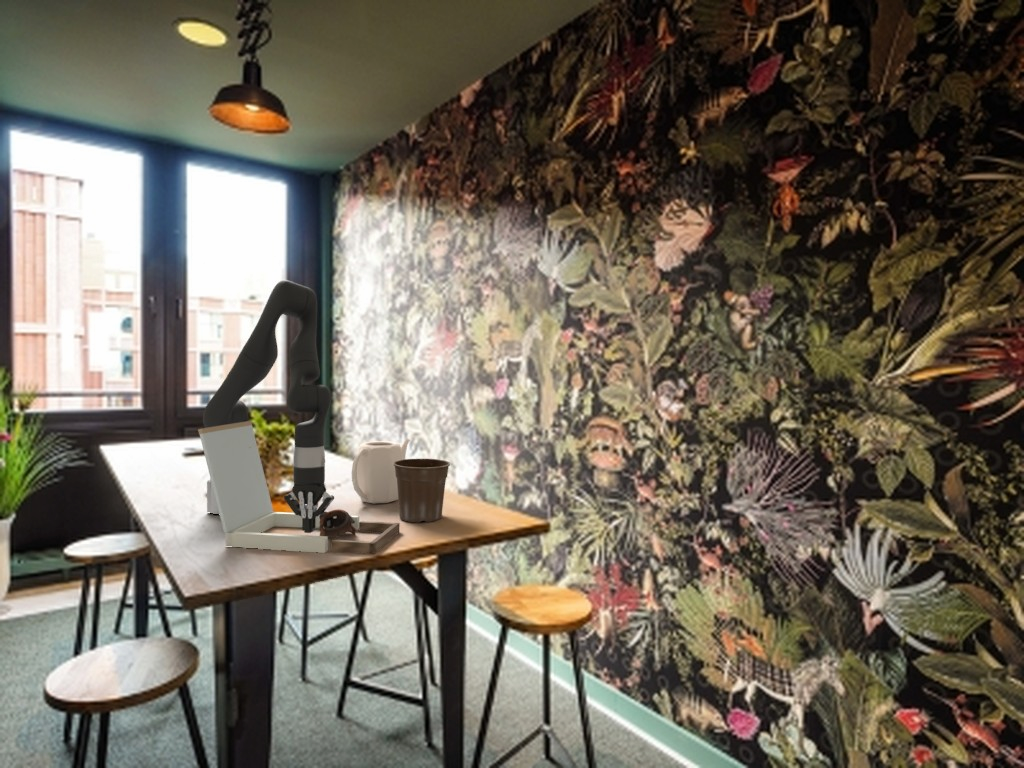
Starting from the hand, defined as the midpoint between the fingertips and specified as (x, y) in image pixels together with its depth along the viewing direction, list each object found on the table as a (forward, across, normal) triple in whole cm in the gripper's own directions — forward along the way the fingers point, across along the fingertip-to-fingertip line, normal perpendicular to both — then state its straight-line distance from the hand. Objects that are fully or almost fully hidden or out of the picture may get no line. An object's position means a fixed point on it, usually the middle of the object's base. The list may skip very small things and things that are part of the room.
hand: (309, 532), depth 152 cm
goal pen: (+2, +15, 0) cm, 15 cm away
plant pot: (+2, +22, +25) cm, 34 cm away
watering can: (+2, +3, +45) cm, 45 cm away
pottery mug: (+2, +6, +2) cm, 7 cm away
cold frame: (+2, -7, 0) cm, 7 cm away
